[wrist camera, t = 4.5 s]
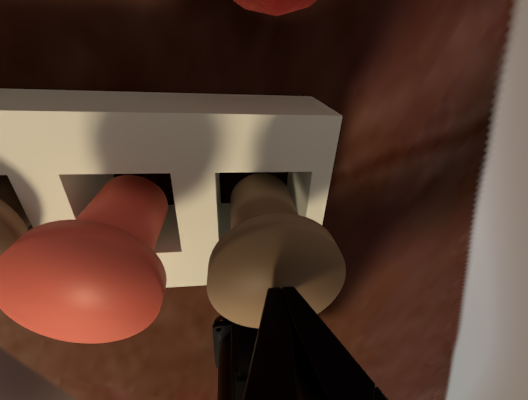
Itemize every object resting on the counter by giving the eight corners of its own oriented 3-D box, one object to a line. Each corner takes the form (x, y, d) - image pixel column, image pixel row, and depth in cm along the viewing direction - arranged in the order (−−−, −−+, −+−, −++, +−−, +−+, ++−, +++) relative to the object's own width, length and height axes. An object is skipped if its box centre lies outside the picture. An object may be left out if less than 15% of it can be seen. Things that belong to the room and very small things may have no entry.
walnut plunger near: (299, 234, 15) (333, 323, 10) (216, 238, 14) (210, 333, 10) (310, 157, 13) (359, 225, 8) (211, 157, 12) (200, 231, 7)
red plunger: (189, 239, 14) (171, 337, 9) (96, 243, 14) (27, 349, 9) (178, 157, 12) (148, 233, 7) (67, 158, 11) (-48, 240, 7)
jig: (294, 230, 19) (312, 278, 15) (13, 241, 17) (-50, 301, 13) (311, 96, 14) (342, 115, 11) (-71, 86, 12) (-209, 106, 8)
